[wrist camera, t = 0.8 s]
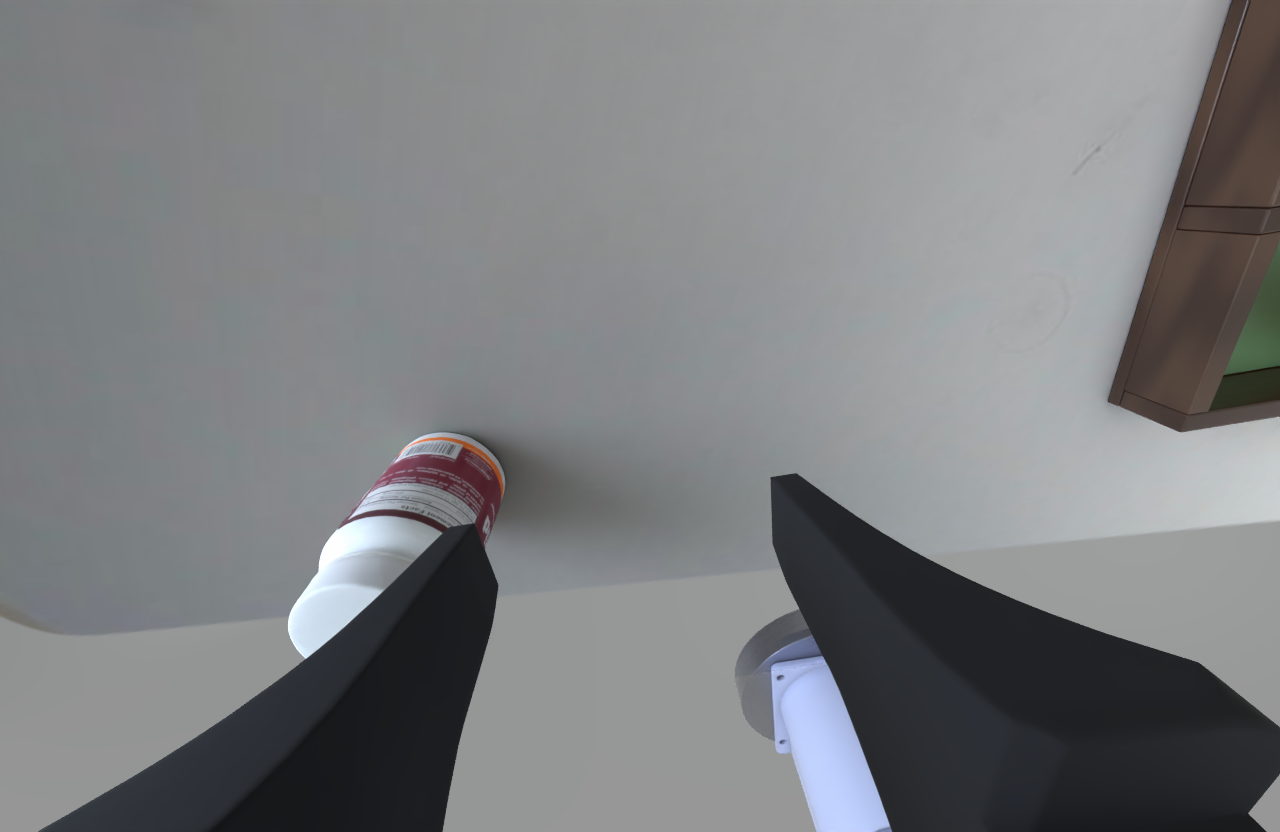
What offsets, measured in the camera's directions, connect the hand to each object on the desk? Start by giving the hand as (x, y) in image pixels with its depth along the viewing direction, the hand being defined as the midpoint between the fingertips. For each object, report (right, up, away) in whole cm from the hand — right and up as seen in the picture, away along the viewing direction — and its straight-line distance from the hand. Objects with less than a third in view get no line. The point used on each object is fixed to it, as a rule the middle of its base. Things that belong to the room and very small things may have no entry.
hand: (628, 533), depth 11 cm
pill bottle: (-8, 0, +10) cm, 13 cm away
